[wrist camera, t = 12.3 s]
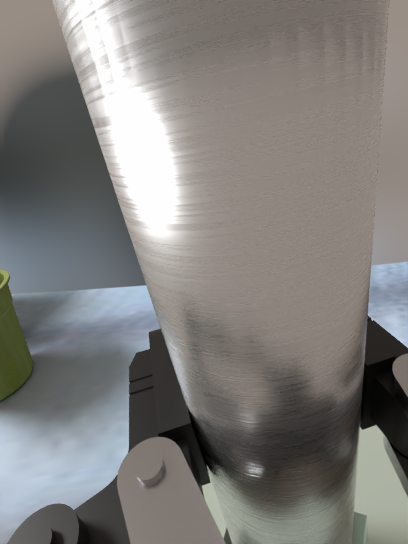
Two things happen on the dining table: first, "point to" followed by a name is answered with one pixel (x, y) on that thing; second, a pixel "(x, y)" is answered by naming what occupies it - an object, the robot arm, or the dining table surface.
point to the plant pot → (11, 344)
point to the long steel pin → (250, 228)
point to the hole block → (360, 496)
